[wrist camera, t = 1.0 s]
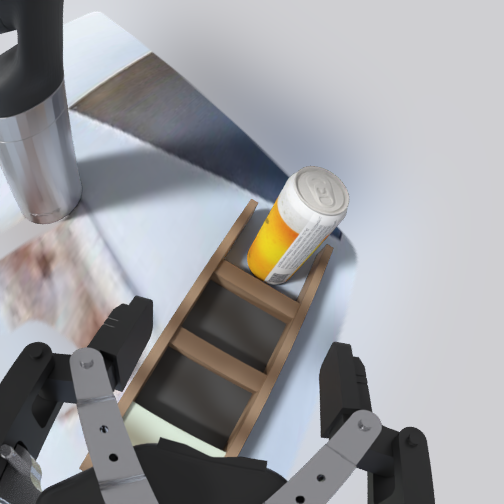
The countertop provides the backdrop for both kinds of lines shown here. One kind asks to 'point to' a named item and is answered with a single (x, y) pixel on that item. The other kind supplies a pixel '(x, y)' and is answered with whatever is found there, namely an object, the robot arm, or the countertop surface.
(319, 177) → the beer can
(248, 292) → the brown wooden flat frame
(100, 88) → the countertop surface
